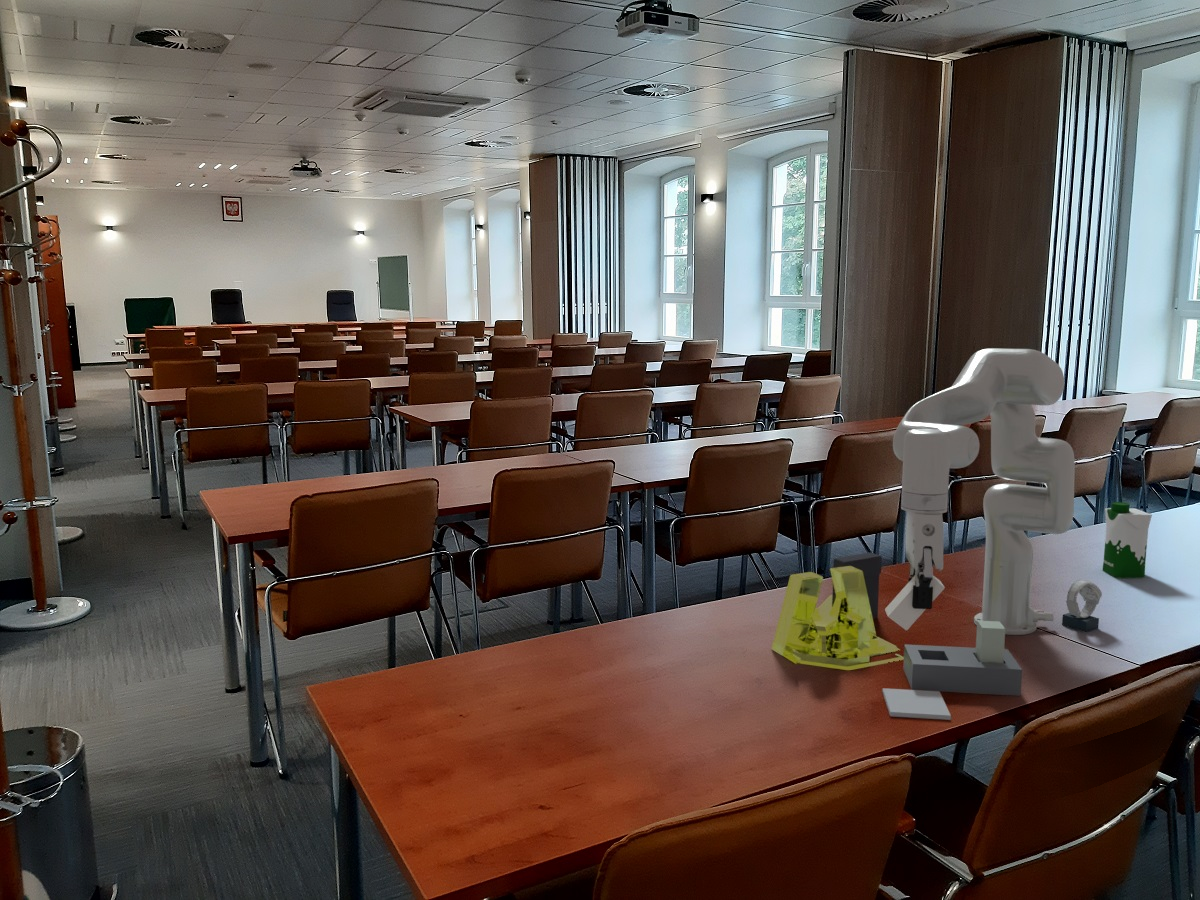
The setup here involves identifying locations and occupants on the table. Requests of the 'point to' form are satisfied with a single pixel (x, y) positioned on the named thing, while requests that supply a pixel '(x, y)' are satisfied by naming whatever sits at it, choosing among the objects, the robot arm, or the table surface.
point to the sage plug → (990, 642)
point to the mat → (916, 704)
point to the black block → (865, 574)
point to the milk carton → (1125, 541)
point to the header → (960, 671)
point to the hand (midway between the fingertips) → (919, 603)
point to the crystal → (829, 623)
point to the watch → (1083, 618)
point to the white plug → (909, 604)
